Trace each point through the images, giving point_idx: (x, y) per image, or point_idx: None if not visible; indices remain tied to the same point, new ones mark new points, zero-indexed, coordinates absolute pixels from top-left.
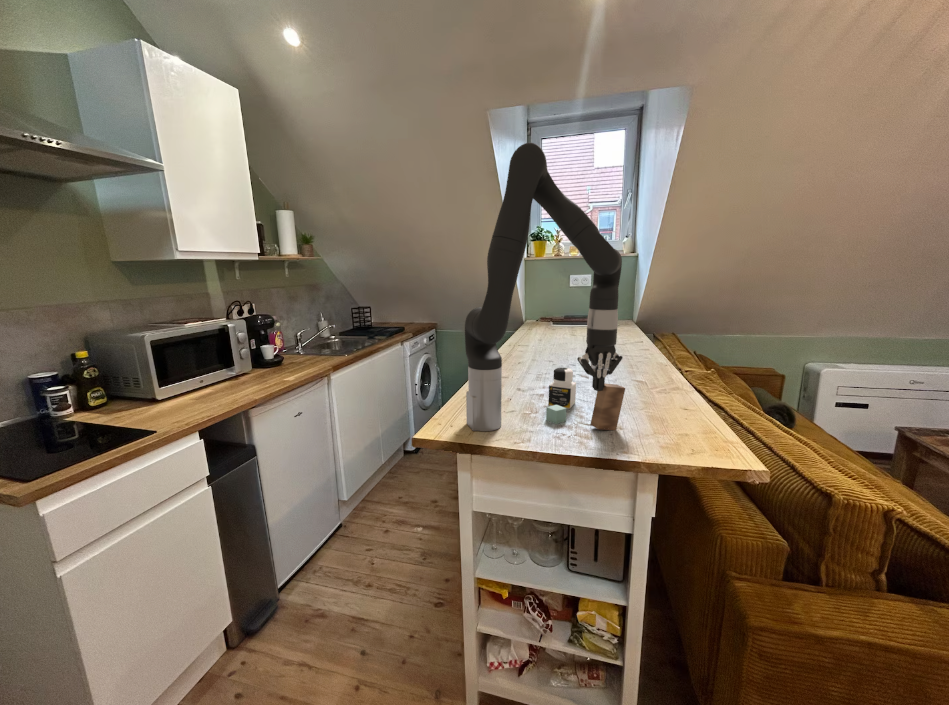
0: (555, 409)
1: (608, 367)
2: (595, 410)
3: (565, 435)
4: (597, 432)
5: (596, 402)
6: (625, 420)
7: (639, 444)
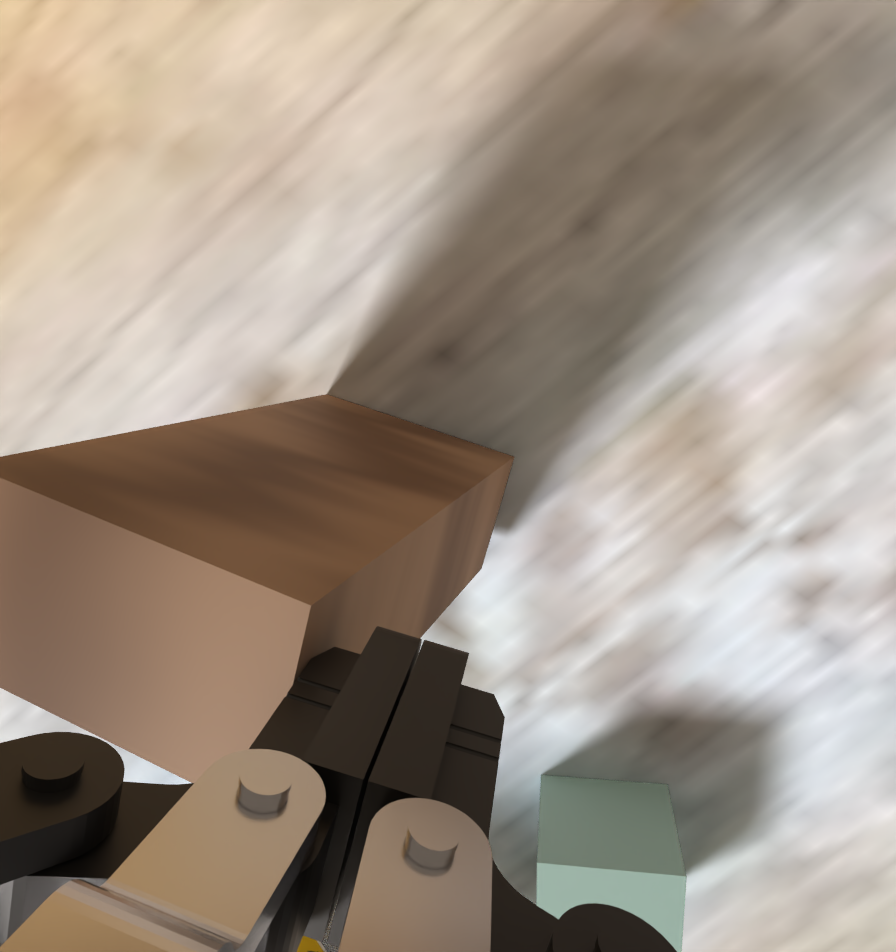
0: (658, 905)
1: (56, 903)
2: (443, 589)
3: (813, 571)
4: (512, 453)
5: None
6: None
7: (412, 46)
